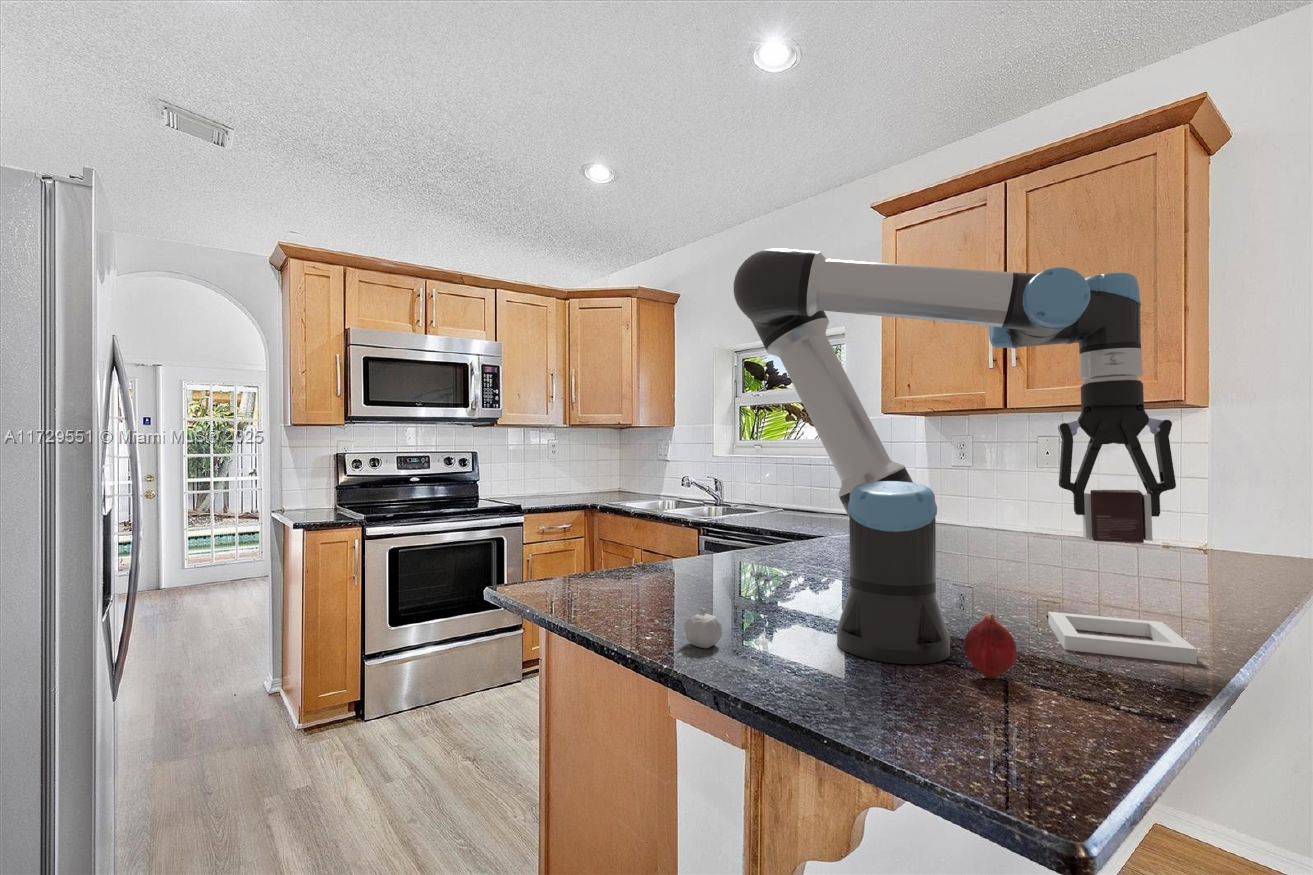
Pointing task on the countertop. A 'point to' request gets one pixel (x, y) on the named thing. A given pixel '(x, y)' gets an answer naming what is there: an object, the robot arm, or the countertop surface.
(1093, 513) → the box
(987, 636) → the onion
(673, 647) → the countertop surface
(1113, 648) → the hole plate
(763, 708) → the countertop surface
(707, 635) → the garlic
